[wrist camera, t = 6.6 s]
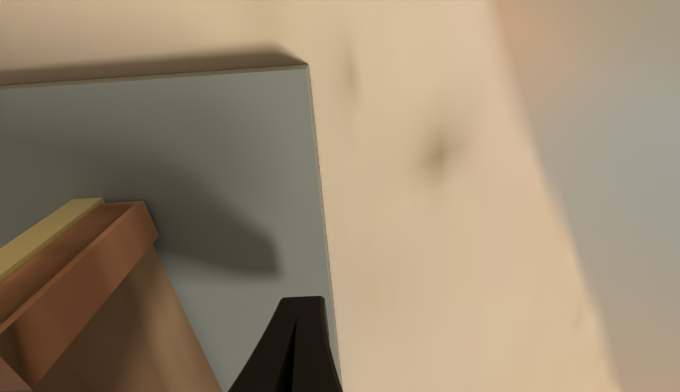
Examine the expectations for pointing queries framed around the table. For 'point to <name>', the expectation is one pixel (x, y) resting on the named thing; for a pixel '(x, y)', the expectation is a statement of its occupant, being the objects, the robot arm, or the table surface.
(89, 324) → the brown wooden plank
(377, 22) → the table surface
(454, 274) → the table surface
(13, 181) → the thin gray base plate
